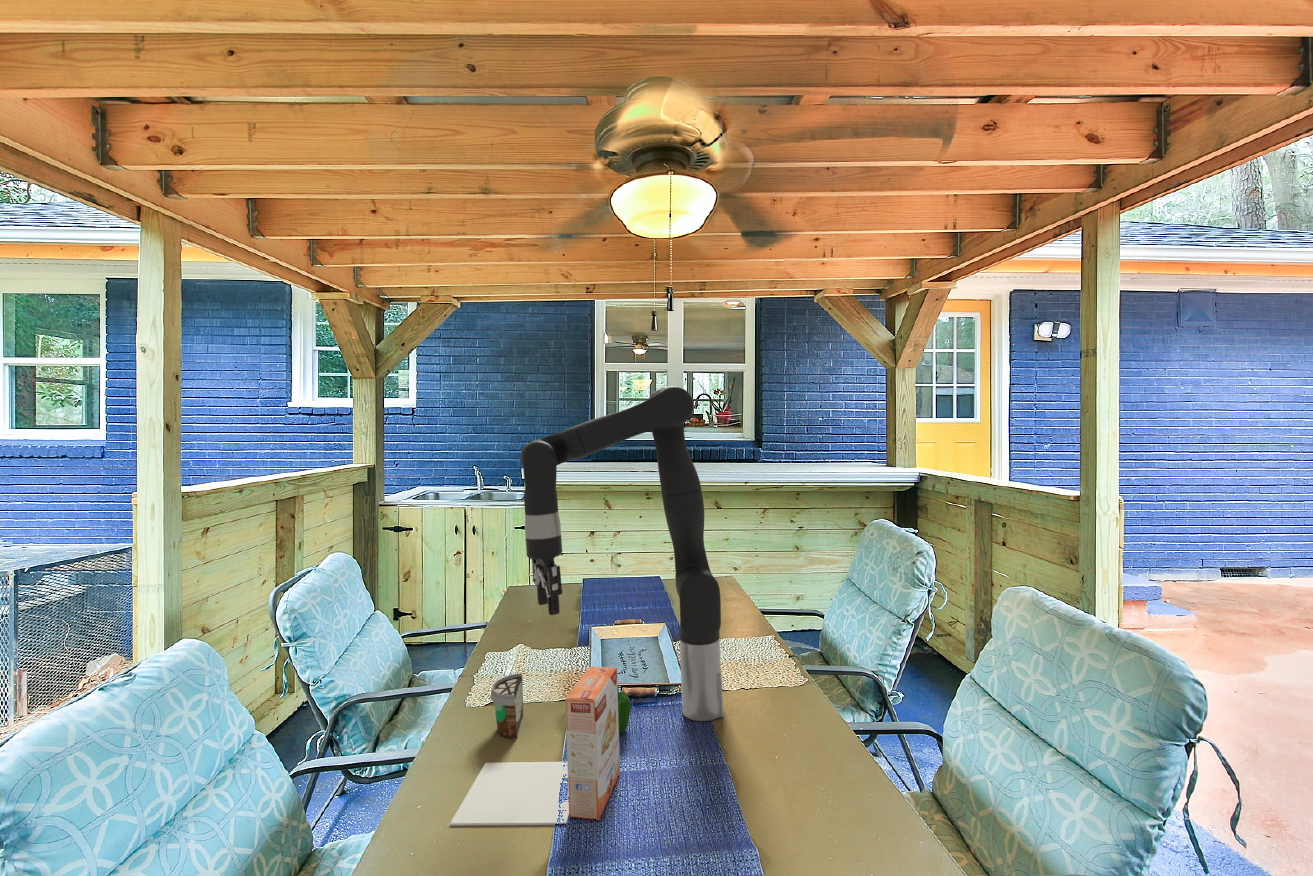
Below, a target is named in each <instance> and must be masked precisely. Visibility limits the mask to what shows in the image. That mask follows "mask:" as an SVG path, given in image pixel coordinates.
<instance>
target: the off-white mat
mask: <svg viewBox="0 0 1313 876" xmlns="http://www.w3.org/2000/svg"><path fill="white" fill-rule="evenodd" d="M564 762H566V763H564ZM563 765H565V767H563ZM566 765H567V761H524V762H523V761H521V762H520V761H517V762H515V761H513V762H512V761H511V762H503V761H502V762H485V763H484V764H483V767H482V768H481V770H480V771H479V773H478V775H477V777H476V778H475V780H474V782H473V783H472V784H471V787H470V788H469V790H468V792H467V793H466V796H465V797H464V799H463V801H462V802H461V803H460V806H459V807H458V809H457V811H456V813H455V814H454V816H453V818H452V819H451V821H450V823H449V826H451V827H455V826H456V827H457V826H458V827H459V826H460V827H461V826H463V827H465V826H466V827H467V826H469V827H470V826H471V827H473V826H476V827H477V826H556V825H555V824H556V823H568V821H567V819H568V820H569V818H568V816H569V802H568V801H569V800H565V801H567V802H563V803H562V804H561V805H560V807H561V808H559V802H558V801H559V792H560V787H561V785H560V783H562V781H563V780H562V778H564V777H563V774H566V775H567V776H565V775H564V776H565V778H568V770H566V769H568V768H567V766H566ZM563 769H565V770H563ZM563 783H568V782H567V781H565V782H564V781H563ZM563 801H564V800H563ZM563 807H564V808H563ZM558 810H564V811H561V812H563V813H562V814H561V813H560V815H563V817H562V818H561V817H559V816H558V815H559V811H558ZM565 810H566V811H565ZM558 817H559V818H560V819H561V821H560V822H557V819H558ZM562 819H564V821H563V820H562ZM558 821H559V820H558Z"/></svg>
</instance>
